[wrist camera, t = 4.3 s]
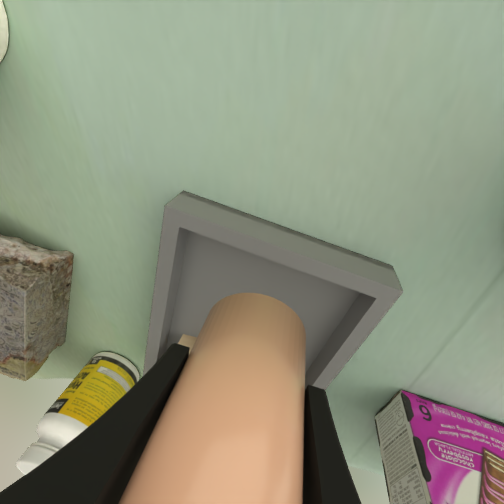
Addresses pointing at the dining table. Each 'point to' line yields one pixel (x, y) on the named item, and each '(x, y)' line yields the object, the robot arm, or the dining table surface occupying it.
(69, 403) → the supplement bottle
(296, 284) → the tray
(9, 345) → the geological specimen
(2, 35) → the white sack
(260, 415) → the flesh-toned capsule
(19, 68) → the dining table surface
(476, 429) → the candy bar box
